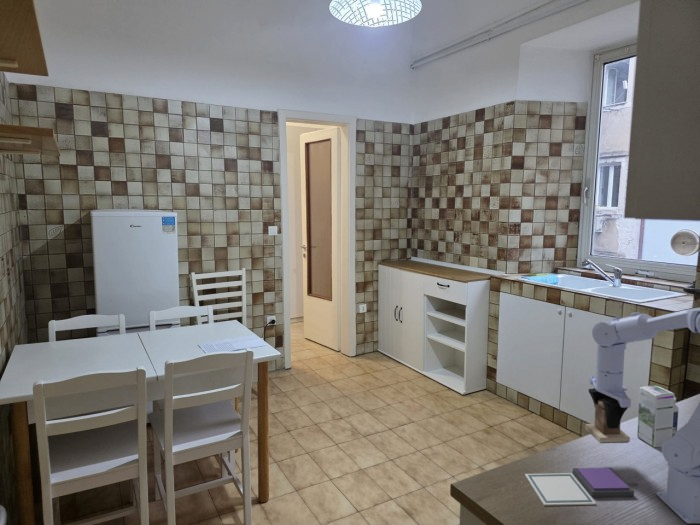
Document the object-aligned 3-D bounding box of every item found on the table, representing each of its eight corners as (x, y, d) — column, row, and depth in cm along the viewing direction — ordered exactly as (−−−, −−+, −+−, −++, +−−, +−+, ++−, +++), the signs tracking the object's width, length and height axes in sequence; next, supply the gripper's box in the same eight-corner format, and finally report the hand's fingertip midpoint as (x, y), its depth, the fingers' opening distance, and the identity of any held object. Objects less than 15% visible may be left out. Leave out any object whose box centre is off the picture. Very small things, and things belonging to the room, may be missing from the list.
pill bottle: (681, 434, 124) (684, 400, 123) (661, 435, 125) (663, 401, 123) (668, 425, 130) (670, 392, 129) (649, 425, 130) (651, 392, 129)
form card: (596, 504, 97) (596, 502, 97) (544, 505, 97) (544, 503, 97) (571, 474, 108) (571, 472, 108) (524, 475, 108) (524, 473, 108)
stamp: (629, 443, 109) (631, 408, 108) (600, 443, 109) (601, 409, 108) (612, 428, 116) (614, 396, 115) (585, 429, 116) (586, 396, 115)
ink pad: (633, 496, 99) (634, 489, 99) (592, 497, 99) (592, 490, 99) (610, 472, 108) (610, 466, 108) (572, 473, 108) (572, 466, 108)
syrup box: (672, 445, 119) (676, 392, 117) (652, 448, 118) (656, 394, 116) (654, 435, 125) (658, 384, 123) (635, 437, 124) (638, 386, 122)
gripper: (645, 380, 103) (642, 437, 105) (609, 359, 117) (607, 409, 119) (614, 381, 103) (611, 438, 105) (582, 359, 117) (580, 409, 119)
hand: (607, 422), depth 112 cm, fingers closed on stamp, 4 cm apart
